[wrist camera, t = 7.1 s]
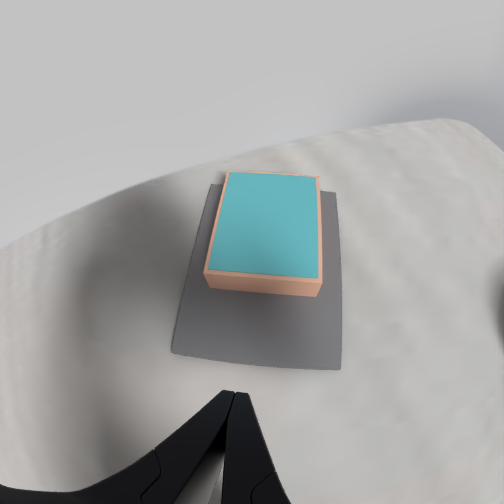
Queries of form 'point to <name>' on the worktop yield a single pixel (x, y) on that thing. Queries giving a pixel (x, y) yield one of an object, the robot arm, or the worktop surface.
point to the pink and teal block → (267, 235)
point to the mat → (263, 309)
